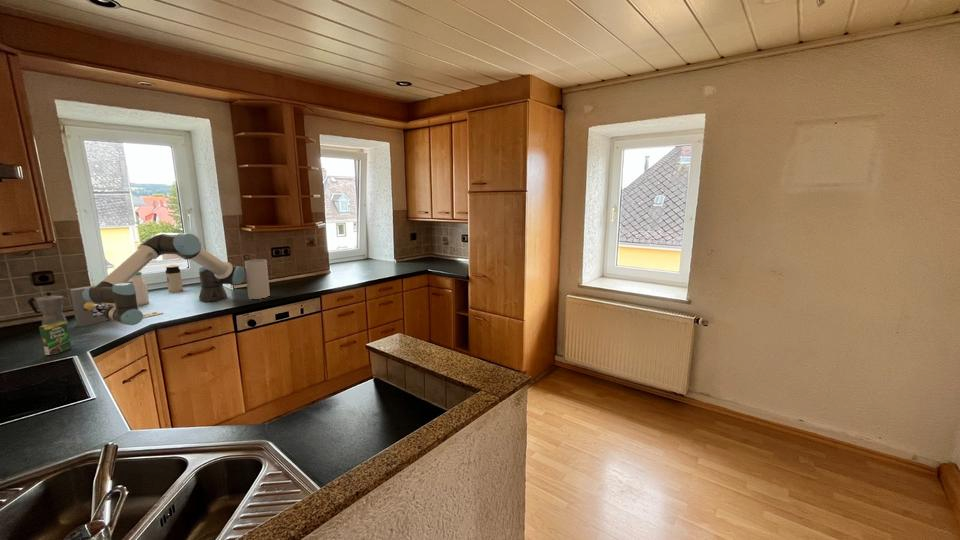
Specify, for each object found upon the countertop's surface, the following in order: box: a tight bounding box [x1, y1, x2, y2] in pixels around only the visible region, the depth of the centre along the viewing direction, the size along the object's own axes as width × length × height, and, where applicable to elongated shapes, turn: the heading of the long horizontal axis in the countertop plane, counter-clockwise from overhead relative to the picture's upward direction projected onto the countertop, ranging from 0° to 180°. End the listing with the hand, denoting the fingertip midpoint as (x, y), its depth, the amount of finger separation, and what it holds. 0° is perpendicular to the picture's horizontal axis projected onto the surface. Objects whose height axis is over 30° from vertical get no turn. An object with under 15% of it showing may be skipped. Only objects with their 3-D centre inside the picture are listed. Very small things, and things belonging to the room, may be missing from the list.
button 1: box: [82, 302, 95, 310], centre depth 198 cm, size 7×4×4 cm, turn 65°
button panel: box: [69, 280, 133, 328], centre depth 205 cm, size 4×24×19 cm, turn 155°
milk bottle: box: [131, 271, 150, 306], centre depth 236 cm, size 8×8×20 cm
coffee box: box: [38, 321, 73, 356], centre depth 163 cm, size 8×3×13 cm, turn 171°
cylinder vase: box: [244, 258, 271, 300], centre depth 254 cm, size 12×12×25 cm
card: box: [142, 311, 164, 319], centre depth 215 cm, size 6×11×1 cm, turn 155°
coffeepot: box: [27, 291, 69, 326], centre depth 194 cm, size 15×9×18 cm, turn 104°
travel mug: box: [165, 264, 184, 293], centre depth 268 cm, size 8×8×18 cm
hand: (94, 306), depth 195 cm, fingers closed
